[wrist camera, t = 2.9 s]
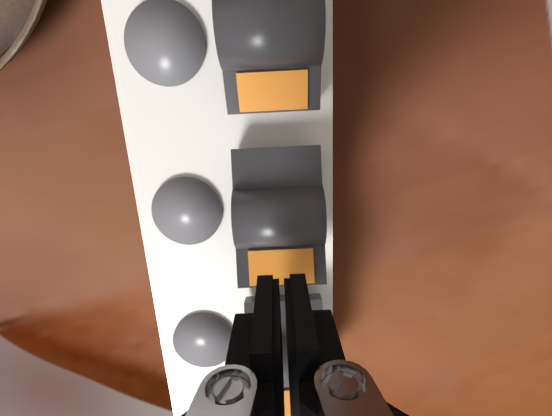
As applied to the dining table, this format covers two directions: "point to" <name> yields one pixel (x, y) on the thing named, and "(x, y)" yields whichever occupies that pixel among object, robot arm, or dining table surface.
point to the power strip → (197, 173)
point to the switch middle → (278, 214)
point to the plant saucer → (17, 25)
